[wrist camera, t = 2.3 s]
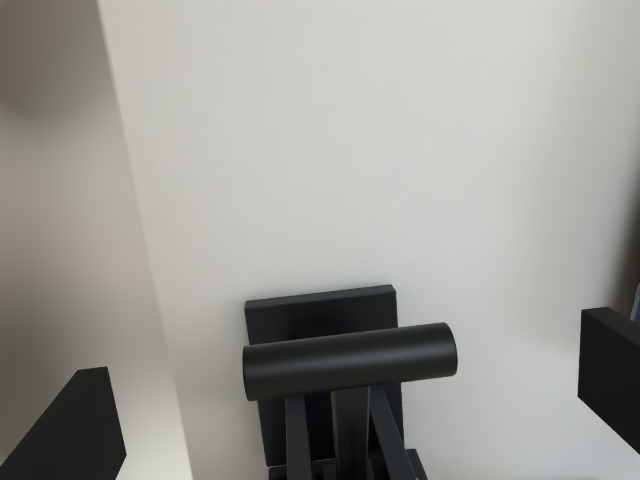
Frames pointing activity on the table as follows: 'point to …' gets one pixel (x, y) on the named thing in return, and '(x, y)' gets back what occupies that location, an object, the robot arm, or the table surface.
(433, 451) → the table surface
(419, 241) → the table surface
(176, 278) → the table surface
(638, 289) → the book
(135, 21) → the table surface
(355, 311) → the lever bracket
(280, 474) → the toaster
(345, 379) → the lever
